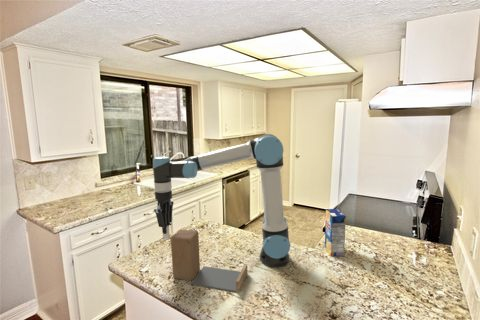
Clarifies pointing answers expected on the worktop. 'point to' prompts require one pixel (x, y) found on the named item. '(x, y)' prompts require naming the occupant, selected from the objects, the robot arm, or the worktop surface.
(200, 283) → the mat
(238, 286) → the stop rail
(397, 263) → the worktop surface
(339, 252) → the beverage box
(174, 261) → the wooden block
